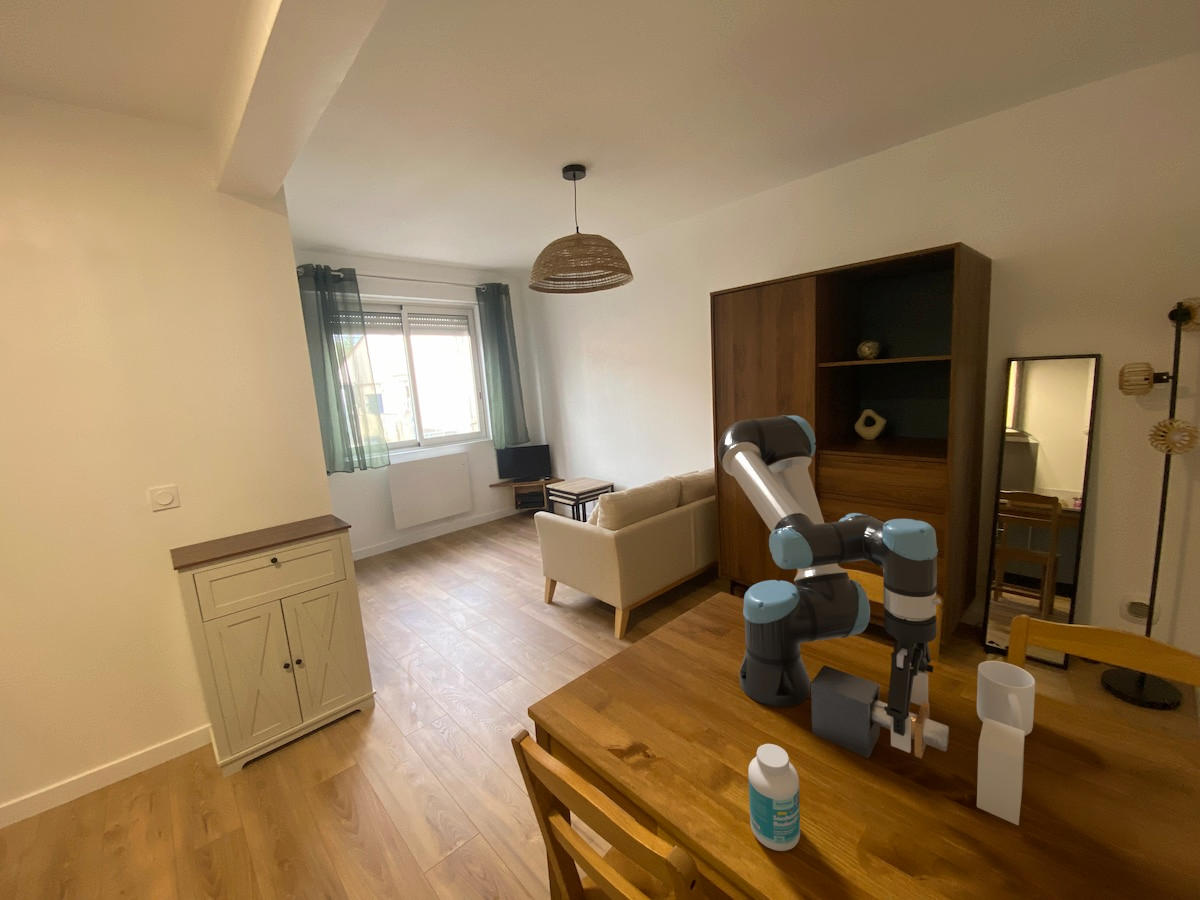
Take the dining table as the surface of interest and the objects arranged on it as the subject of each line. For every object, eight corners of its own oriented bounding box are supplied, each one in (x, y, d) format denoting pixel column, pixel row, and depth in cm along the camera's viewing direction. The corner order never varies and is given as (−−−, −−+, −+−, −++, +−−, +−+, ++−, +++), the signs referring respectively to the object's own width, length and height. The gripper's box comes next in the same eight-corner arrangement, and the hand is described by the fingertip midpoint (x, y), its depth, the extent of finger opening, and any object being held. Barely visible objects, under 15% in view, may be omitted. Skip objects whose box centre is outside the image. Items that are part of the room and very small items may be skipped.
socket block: (976, 806, 75) (978, 742, 74) (982, 778, 80) (984, 717, 79) (1018, 825, 72) (1021, 758, 70) (1021, 794, 77) (1024, 730, 75)
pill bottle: (780, 864, 70) (777, 784, 68) (740, 826, 76) (736, 752, 74) (811, 834, 74) (808, 757, 71) (770, 801, 80) (767, 729, 78)
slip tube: (817, 715, 92) (816, 685, 91) (829, 697, 97) (828, 668, 96) (943, 767, 78) (943, 733, 77) (949, 744, 83) (950, 711, 82)
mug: (1046, 758, 83) (1049, 705, 81) (986, 745, 87) (988, 694, 85) (1024, 713, 93) (1027, 665, 92) (972, 703, 97) (973, 657, 96)
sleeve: (812, 733, 93) (810, 682, 92) (825, 713, 98) (823, 665, 96) (868, 758, 86) (868, 704, 85) (879, 735, 91) (879, 684, 89)
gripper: (919, 652, 69) (920, 782, 72) (949, 589, 86) (949, 695, 89) (862, 636, 74) (865, 758, 77) (902, 580, 92) (903, 680, 95)
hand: (910, 724), depth 83 cm, fingers open, 13 cm apart
